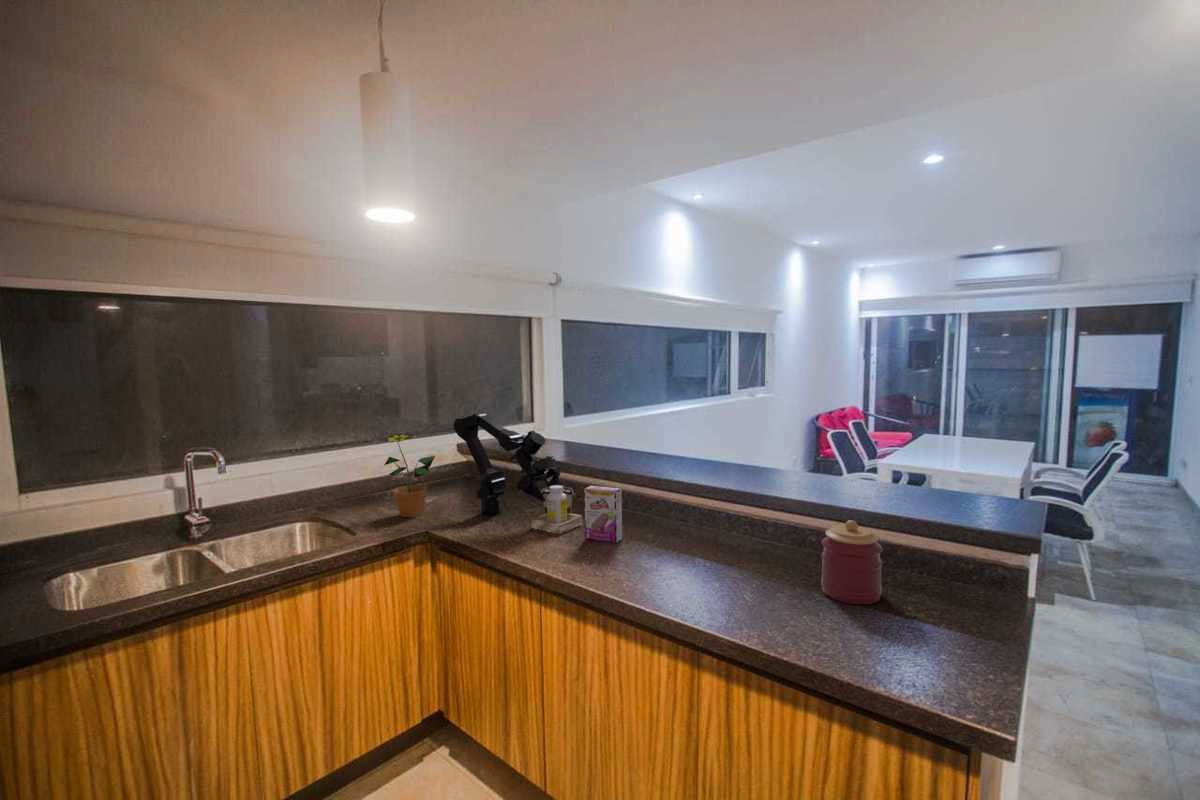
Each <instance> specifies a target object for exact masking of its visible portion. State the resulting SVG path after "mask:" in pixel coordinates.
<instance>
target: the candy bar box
mask: <svg viewBox="0 0 1200 800" xmlns="http://www.w3.org/2000/svg"><path fill="white" fill-rule="evenodd" d="M622 491H623V490H622V488H619V487H618V488H617V487H610V486H609V487H608V486H600V485H599V486H597V485H589V486H587V487H584V489H583V494H584V495H583V500H584V538H585V540H590V541H591V540H592V541H598V542H605V543H611V544H618V543H619V542H620V541H621V540H623V510H622V509H623V503H622V500H623V499H622V498H623V495H622V494H623V492H622Z"/></svg>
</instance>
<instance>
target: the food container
mask: <svg viewBox="0 0 1200 800" xmlns="http://www.w3.org/2000/svg"><path fill="white" fill-rule="evenodd" d="M562 486H563V485H562ZM540 491H541V493H542V495H543V496H544V498H545V501H544V502H542V504H543V512H544V515H545V514H547V496H548V494H550V491H549V486H548V487H545V488H544V487H543V488H542V489H541V490H540ZM563 493H564V494H565V495H566V502H567V513H570V514H572V504H573V496H575V493H574V489H573V488H572V487H569V486H563Z"/></svg>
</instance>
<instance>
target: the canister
mask: <svg viewBox="0 0 1200 800" xmlns="http://www.w3.org/2000/svg"><path fill="white" fill-rule="evenodd" d="M824 533H825V536H826V537H824V538H823V539H822V540H821V545H822V546H823V552H822V553H821V558H822V559H821V560H822V561H821V579H820V582H821V583H820V586H821V588H822V589H821V590H822V592H823V594H825V595H826V596H827V597H829V598H831V599H833V600H835V601H838V602H842V603H845V604H851V605H871V604H874V603H877V602H879V601H880V600H881V596H882V593H883V592H882V591H883V590H882V589H883V587H882V566H883V562H882V559H881V555H880V554H881V553H882V552H883V547H882V545H881V544H880V543H879V542H878V541H879V539H880V538H879V536H878V535H877V534H875V533H874V532H872V530H870V529H869V528H866V527H863V526H859V525H858V523H857V522H856V521H855V520H852V519H849V520H847V521H846V522H845V524H837V525H833V526H832V527H831V528H828V529H827V530H825V532H824Z"/></svg>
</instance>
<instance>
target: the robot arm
mask: <svg viewBox="0 0 1200 800" xmlns="http://www.w3.org/2000/svg"><path fill="white" fill-rule="evenodd" d="M479 427H480V428H481V429H482V430H484V431H485V432H487V434H489V435H490V436H492V437H493V438H495V439H496V440H497V441H498V445H499V446H500V447H501V448H502V449H503V450H504V451H505V452H512V451H515V452H514V453H511V454H510V459H509V462H510V463H511V462H517V464H518V465H519V467H520V468H521V470H520V473H521V474H522V475H523V474H525V475H523V476H522V477H521V478H520V479H519V480H518V481H517V483H516V484H515V487H516V490H517V491H518V493H522V494H527V495H528V496H530V497H533V498H535V499H536V500H538V501H540V502H542V503H543V502H544V501H545V498H544V496H543V495H542V493H541V491H542V490H541V489H540V488H539V487H538V482H541V481H542V482H543V481H544V482H545V483H546V485H547V486H548V487H550V486H554V485H560V480H559V479H560V476H561V473H562V470H561V468H560V467H558V466H555V463H556V459H555V456H553V455H552V454H547V455H546V456H545V457H544V458H541V459H538V458H537V459H536V458H535V457H534V455H537V454H538V452H539V451H540V449H542V447H544V445H545V443H546V438H545V437H544V435H542V434H540V433H538V432H536V431H535V430H534V429H531V430H529V431H528V433H527V435H526V436H525V437H524V436H523V435H522V434H521V433H519V432H517V431H514V430H509V429H507V428H505V427H504V426H502V425H501V424H499V423H498V422H497V421H495V420H493V419H492V418H491V417H489V416H488V415H487V413H485V412H477V413H476V412H475V413H473V414H471V415H468V416H465V417H459V418H456V419H455V420H454V422H453V429H454V431H455V432H456V434H457V436H458V437H459V438H460V439H462V440H463V441H464V442H465V444H466V445H467V447H468V450H469V452H470V454H471V456H472V459H473V460H474V463H475V465H476V466H477V469H478V471H479V474H480V479H479V480H480V481H479V483H480V487H479V489H478V491H477V492H476V496H477V499H479V500H480V504H481V506H480V507H481V512H480V513H479V515H480V516H498V514H500V513H502V512H503V507H502V500H501V496H504V492H505V488H506V485H507V483H506V478H505V477H504V475H503V472H502V471H501V470H495V468H494V467H493V465H492V464H491V461H490V459H489V457H488V455H487V453H486V450H485V449H484V445H483V444H482V442H481V440H480V438H479ZM553 466H554V467H553ZM549 467H550V468H549ZM548 468H549V469H548Z"/></svg>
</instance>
